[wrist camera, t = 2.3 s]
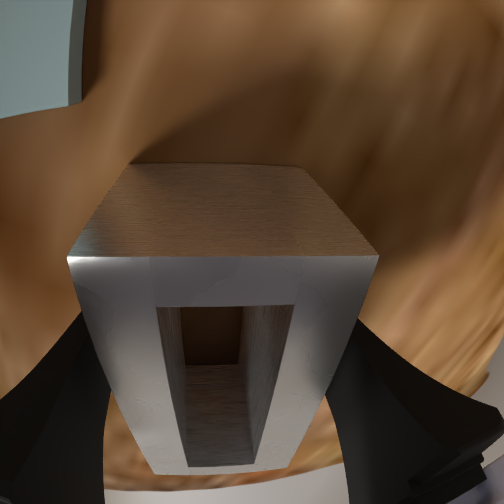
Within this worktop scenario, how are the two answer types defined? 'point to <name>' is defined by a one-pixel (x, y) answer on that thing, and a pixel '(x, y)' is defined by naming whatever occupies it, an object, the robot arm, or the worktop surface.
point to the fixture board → (40, 54)
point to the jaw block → (219, 295)
